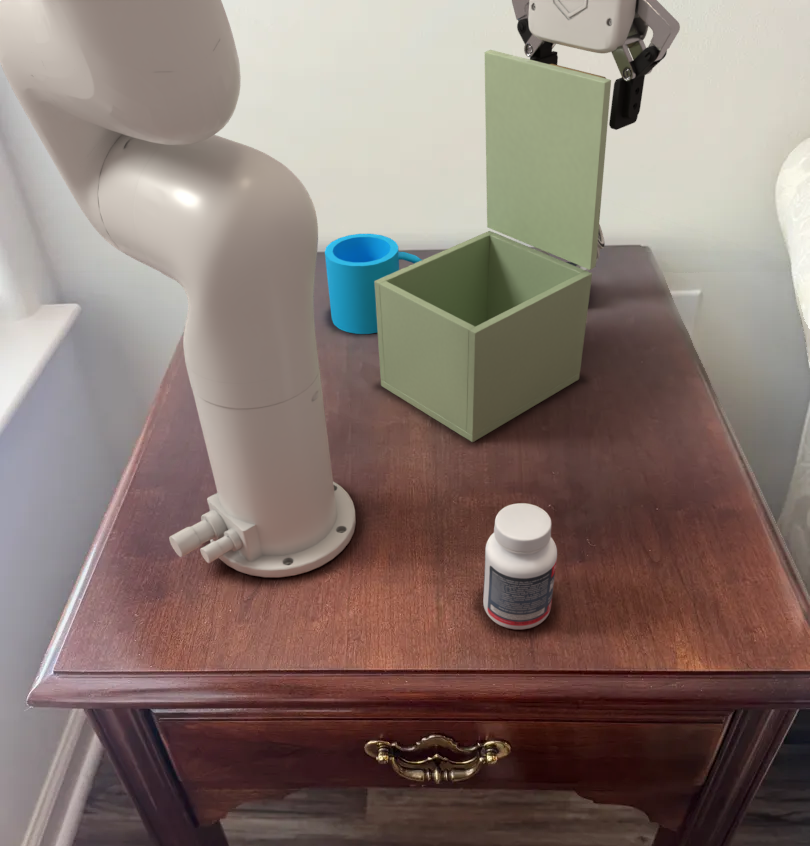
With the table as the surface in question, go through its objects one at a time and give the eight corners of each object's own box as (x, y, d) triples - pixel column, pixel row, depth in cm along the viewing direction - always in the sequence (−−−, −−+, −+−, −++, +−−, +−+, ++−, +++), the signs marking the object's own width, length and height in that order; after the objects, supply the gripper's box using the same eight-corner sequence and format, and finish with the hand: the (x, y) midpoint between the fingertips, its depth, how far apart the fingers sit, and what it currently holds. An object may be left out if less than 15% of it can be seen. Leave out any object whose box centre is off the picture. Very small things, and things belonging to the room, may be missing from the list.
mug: (332, 336, 97) (325, 268, 91) (330, 301, 103) (324, 236, 97) (437, 328, 97) (437, 260, 92) (429, 294, 103) (428, 228, 98)
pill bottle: (560, 625, 65) (571, 540, 59) (493, 637, 64) (498, 553, 58) (538, 576, 69) (547, 492, 62) (475, 587, 68) (478, 503, 62)
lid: (605, 82, 68) (647, 63, 71) (484, 51, 76) (525, 35, 78) (590, 270, 80) (626, 248, 82) (486, 227, 88) (523, 208, 90)
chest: (472, 442, 82) (475, 333, 73) (380, 386, 89) (374, 280, 81) (579, 379, 89) (592, 273, 81) (485, 331, 96) (489, 230, 88)
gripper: (490, -123, 70) (484, 103, 81) (667, -107, 60) (631, 147, 72) (552, -133, 73) (537, 85, 85) (728, -119, 63) (684, 124, 75)
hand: (580, 113), depth 78 cm, fingers open, 9 cm apart
